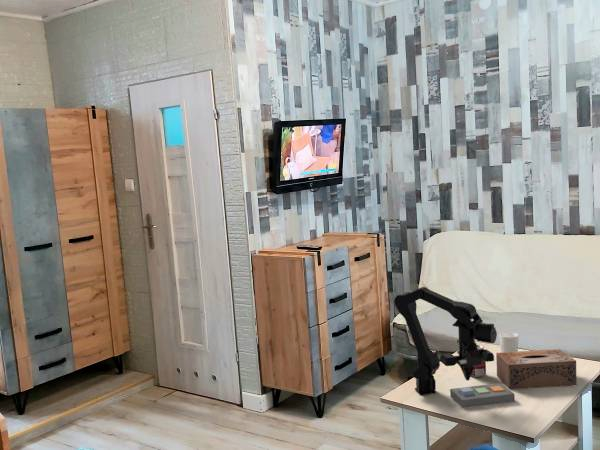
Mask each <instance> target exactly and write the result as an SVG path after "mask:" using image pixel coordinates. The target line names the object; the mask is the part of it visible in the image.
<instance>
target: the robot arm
mask: <svg viewBox="0 0 600 450" xmlns="http://www.w3.org/2000/svg"><path fill="white" fill-rule="evenodd" d="M418 300H422V301H425V302H426V303H427V304H428V303H429V304H431V305H433V306H435V307H436V308H440V309H442V310H444V311H446V312H447V313H449V314H450V315H451V316H452V317H453V318H454V319H456V321H455V322H454V323H453V324H452V327H456V328H457V327H458V328H457V329H458V331H457V332H458V339H456V342H457V344H458V350H457V351H456V352H457V355H453V354H452V353H450V352H449V353H442V354H441V355H440V357H439V355H438V352H437V351H434V352H433V350H432V349H430V347H429V344H428V341H427V339H426V336H425V333H424V331H423V328H422V326H421V323H420V320H419V318H418V314H417V306H418V305H417V302H416V301H418ZM393 303H394V307H395V308H396V310H397V311H398V313H399V315H401V316H402V317H403V319H404V320H405V323H406V326H407V328H408V331H409V333H410V336H411V337H410V338H411V339H412V342H413V344H414V346H415V350H416V353H417V358H416V363H417V368H416V369H415V370H414V371H413V372H412V375H413V378H414V379H415V386H416V387H415V388H414V390H415V391H416V392H417V393H418V394H419V395H420V396H424V395H425V396H426V395H431V394H437V391H436V388H437V387H436V385H437V383H436V379H435V376H434V375H435V374H436V372H437V371H438V370H439V369H440V366H441V364H440V363H442V364H443V365H444V366H446V367H453V366H455V365H456V364H457V365H458V366H459V367H460V370H461V372H462V374H463V377H464V379H465V380H466V381H470V379H471V377H472V376H471V374H472V371H473V369H474V367H475V366H476V365H481V364H482V360H485V361H486V363H489V362H494V361H495V355H494V353H493V352H491V351H490V350H489V349H487V348H486V349H485V348H483V349H484V350H478V349H477V345H478V344H477V342H480V343H486V344H495V342H496V341H497V336H498V335H497V333H498V332H497V329H496V326H495V324H494V323H486V322H484V321H483V320H482V318H481V317H480V314H479V313H478V312H477V309H476V306H475V305H474V304H472V303H468V302H465V301H458V300H454V299H451V298H449V297H446V296H444V295H442V294H440V293H438V292H436V291H433V290H431V289H429V288H428V287H426V286H422V287H419V288H416V289H415V290H413V291H412V292H409V291H405V292H403V293H400V294H398V295H396V296H395V298H394V300H393ZM476 341H477V342H476Z"/></svg>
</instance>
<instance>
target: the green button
mask: <svg viewBox="0 0 600 450" xmlns="http://www.w3.org/2000/svg"><path fill="white" fill-rule="evenodd" d="M474 391H475V392H476V393H478V394H486V393H489V391H488V390H487V389H485V388H477V389H474Z"/></svg>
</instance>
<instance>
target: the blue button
mask: <svg viewBox="0 0 600 450" xmlns="http://www.w3.org/2000/svg"><path fill="white" fill-rule="evenodd" d="M470 387H471V386H463V387H458V388H459V393H460V394H461V395H462V396H469V395H474V390H472V389H471V388H470Z"/></svg>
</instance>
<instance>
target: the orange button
mask: <svg viewBox="0 0 600 450" xmlns="http://www.w3.org/2000/svg"><path fill="white" fill-rule="evenodd" d="M489 389H490V390H491V391H493V392H502V391H505V390H504V389H503V388H502V387H500V386H493V387H489Z"/></svg>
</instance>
